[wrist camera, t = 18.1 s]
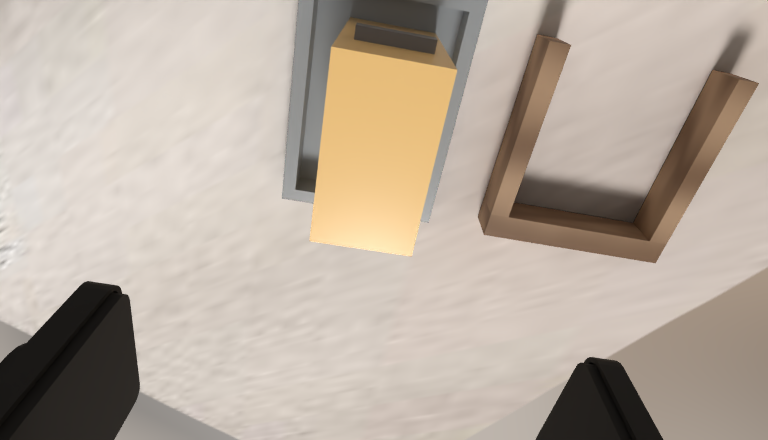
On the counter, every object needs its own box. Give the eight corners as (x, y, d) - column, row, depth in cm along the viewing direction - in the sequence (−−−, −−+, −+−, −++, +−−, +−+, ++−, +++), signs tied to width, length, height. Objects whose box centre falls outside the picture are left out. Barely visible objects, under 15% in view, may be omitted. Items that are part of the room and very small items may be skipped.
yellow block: (351, 5, 26) (333, 30, 18) (437, 22, 27) (461, 54, 18) (332, 161, 31) (309, 241, 22) (405, 173, 31) (411, 256, 23)
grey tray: (309, -41, 26) (301, -41, 24) (480, -5, 27) (488, -2, 24) (289, 182, 32) (281, 198, 30) (426, 205, 33) (428, 222, 31)
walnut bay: (537, 34, 28) (550, 40, 25) (730, 73, 28) (758, 83, 26) (478, 216, 34) (484, 234, 31) (638, 243, 35) (655, 263, 32)
